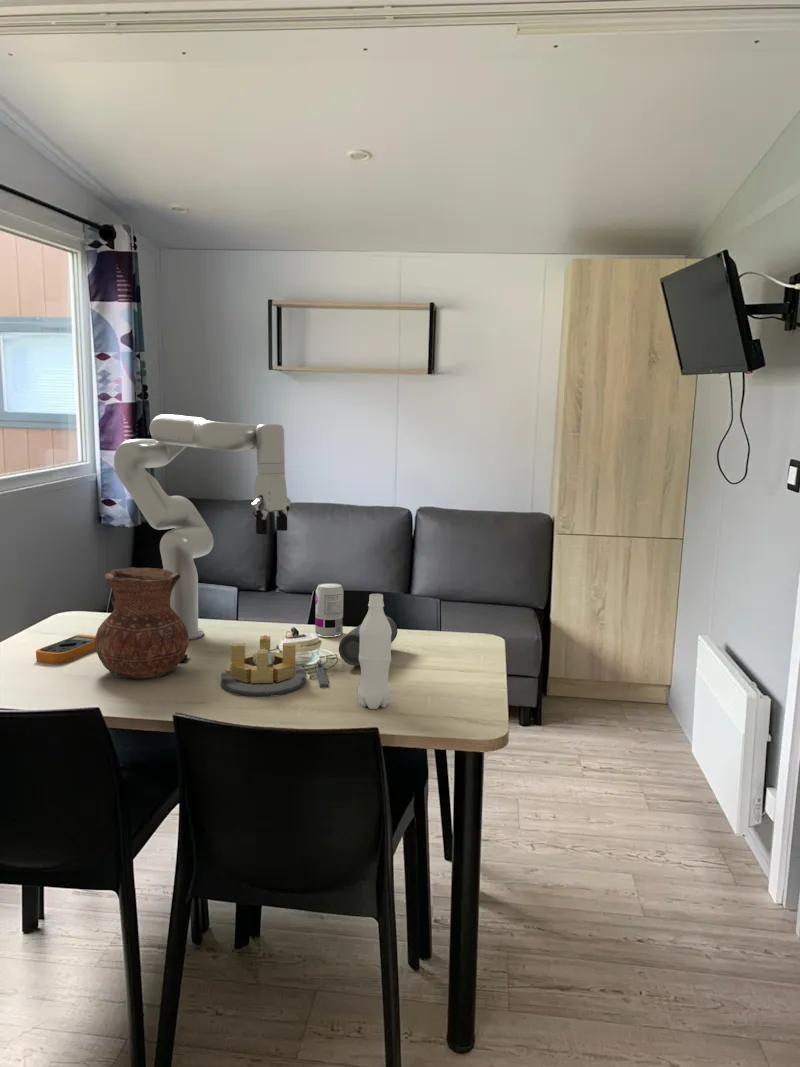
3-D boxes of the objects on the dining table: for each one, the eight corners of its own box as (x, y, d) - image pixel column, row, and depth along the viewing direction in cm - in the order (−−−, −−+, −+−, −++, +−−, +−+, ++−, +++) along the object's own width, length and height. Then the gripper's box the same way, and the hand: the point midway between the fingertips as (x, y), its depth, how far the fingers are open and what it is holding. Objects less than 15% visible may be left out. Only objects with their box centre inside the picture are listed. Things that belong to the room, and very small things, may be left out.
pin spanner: (328, 688, 180) (328, 678, 180) (320, 689, 180) (320, 678, 179) (322, 668, 196) (323, 658, 195) (315, 668, 195) (315, 658, 195)
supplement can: (310, 636, 225) (311, 586, 223) (321, 630, 233) (322, 581, 231) (336, 639, 222) (337, 589, 220) (346, 632, 230) (347, 584, 228)
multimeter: (31, 663, 194) (31, 650, 193) (78, 645, 211) (77, 633, 210) (60, 666, 191) (60, 653, 191) (105, 648, 209) (104, 635, 208)
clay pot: (204, 664, 195) (204, 568, 192) (158, 689, 175) (156, 583, 172) (130, 655, 201) (128, 562, 198) (76, 679, 181) (73, 576, 178)
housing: (216, 697, 171) (216, 667, 170) (225, 670, 191) (225, 643, 190) (305, 695, 173) (306, 666, 173) (305, 669, 193) (305, 642, 192)
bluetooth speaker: (370, 672, 192) (371, 634, 191) (336, 668, 195) (336, 630, 194) (399, 649, 213) (400, 615, 212) (368, 646, 216) (369, 611, 215)
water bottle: (369, 713, 163) (371, 599, 160) (351, 703, 169) (353, 593, 166) (396, 707, 168) (399, 596, 165) (378, 697, 173) (380, 590, 170)
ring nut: (228, 683, 173) (228, 652, 172) (234, 663, 188) (234, 635, 187) (294, 682, 175) (295, 652, 174) (295, 663, 190) (295, 635, 189)
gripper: (277, 468, 216) (278, 528, 218) (240, 470, 200) (241, 535, 202) (299, 469, 213) (300, 529, 215) (264, 471, 197) (265, 536, 199)
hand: (272, 532), depth 208 cm, fingers open, 9 cm apart
